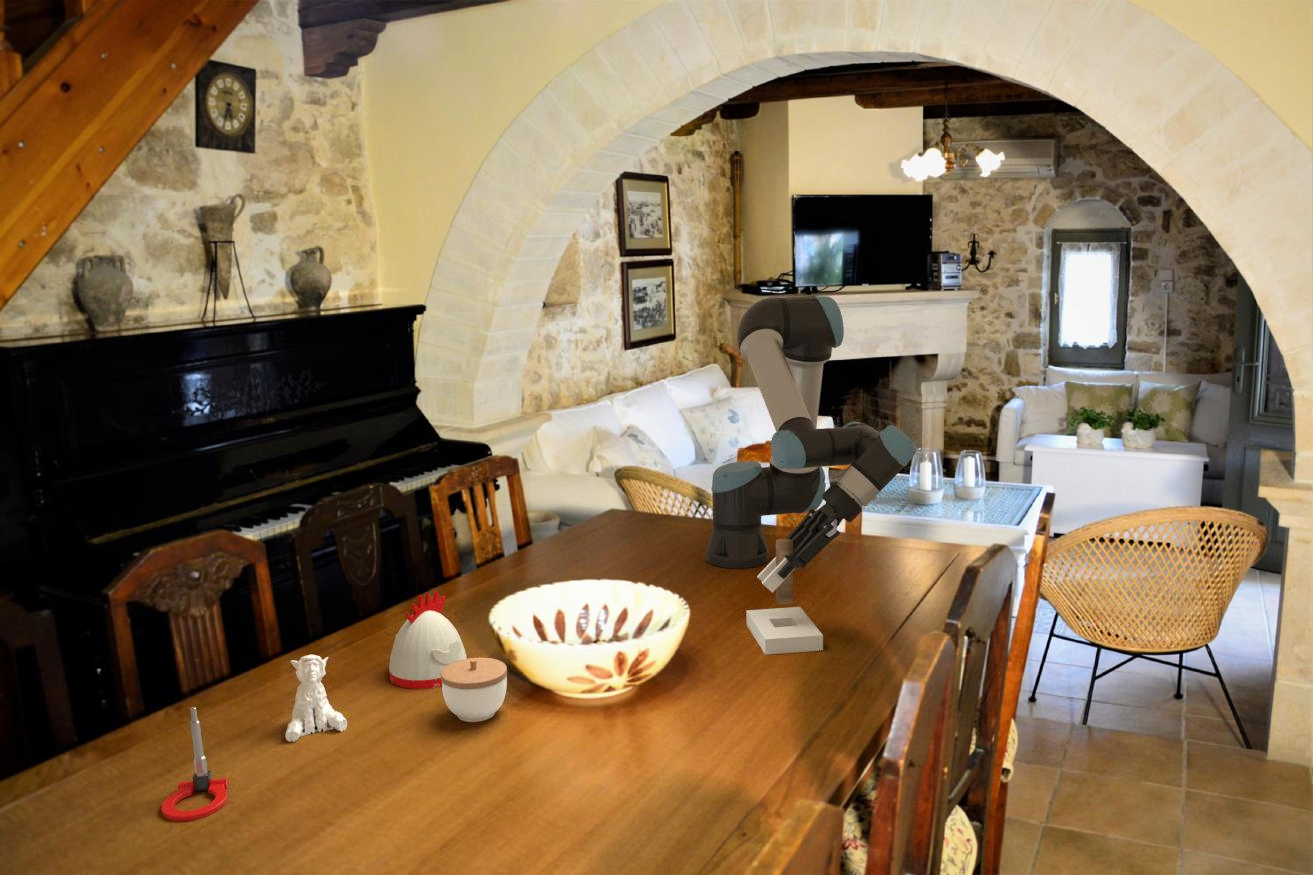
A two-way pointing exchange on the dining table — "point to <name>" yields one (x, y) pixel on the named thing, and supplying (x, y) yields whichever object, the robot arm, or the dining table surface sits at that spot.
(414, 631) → the kitchen timer
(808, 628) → the hole block
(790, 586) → the peg
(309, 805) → the dining table surface
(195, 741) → the tow hook
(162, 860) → the dining table surface
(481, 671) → the lidded jar
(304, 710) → the white creature statuette
